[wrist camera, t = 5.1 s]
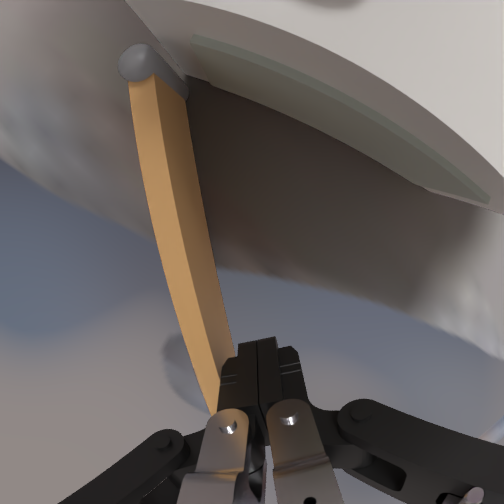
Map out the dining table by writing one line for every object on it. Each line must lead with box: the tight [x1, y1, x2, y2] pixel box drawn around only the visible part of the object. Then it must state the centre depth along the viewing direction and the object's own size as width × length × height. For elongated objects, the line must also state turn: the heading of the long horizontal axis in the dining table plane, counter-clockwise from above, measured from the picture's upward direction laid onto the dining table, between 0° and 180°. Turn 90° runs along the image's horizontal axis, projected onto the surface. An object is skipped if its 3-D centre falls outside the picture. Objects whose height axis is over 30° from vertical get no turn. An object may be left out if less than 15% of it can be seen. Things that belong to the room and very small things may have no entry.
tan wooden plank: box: [118, 43, 235, 416], centre depth 11 cm, size 2×14×5 cm, turn 9°
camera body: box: [125, 0, 504, 215], centre depth 7 cm, size 9×15×9 cm, turn 67°
